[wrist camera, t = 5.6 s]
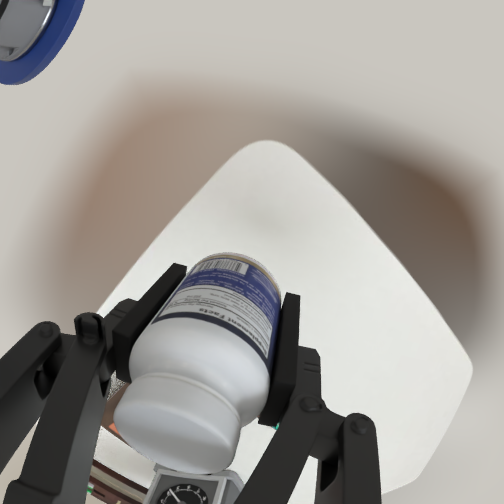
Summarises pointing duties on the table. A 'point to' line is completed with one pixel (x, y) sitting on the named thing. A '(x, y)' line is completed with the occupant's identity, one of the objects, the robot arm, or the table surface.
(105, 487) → the decorative book
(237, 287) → the pill bottle
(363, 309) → the table surface
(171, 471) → the alarm clock
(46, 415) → the robot arm
